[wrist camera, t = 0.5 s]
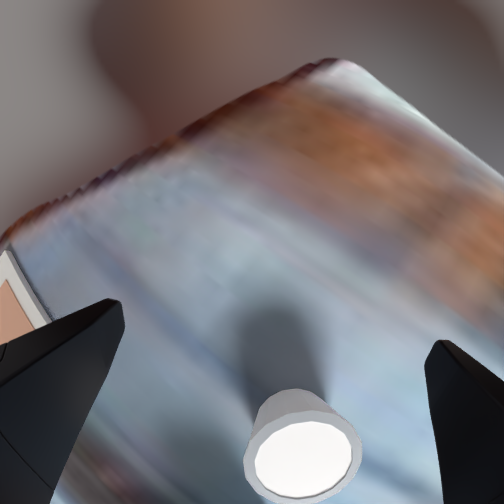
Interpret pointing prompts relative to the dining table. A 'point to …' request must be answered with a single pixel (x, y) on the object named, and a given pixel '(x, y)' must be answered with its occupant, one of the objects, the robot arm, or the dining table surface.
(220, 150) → the dining table surface
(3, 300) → the white board with socket
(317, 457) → the white cup
